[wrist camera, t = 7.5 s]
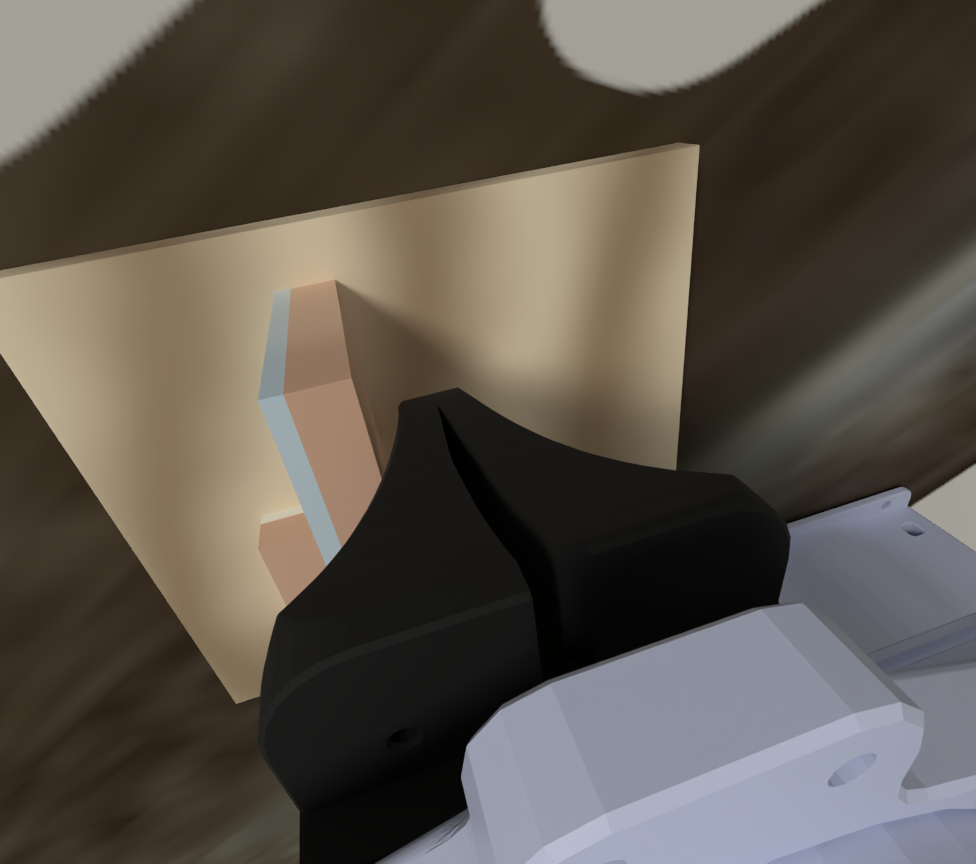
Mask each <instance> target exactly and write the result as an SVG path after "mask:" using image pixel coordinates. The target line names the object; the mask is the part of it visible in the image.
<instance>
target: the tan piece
mask: <svg viewBox="0 0 976 864" xmlns="http://www.w3.org/2000/svg"><path fill="white" fill-rule="evenodd" d="M258 403H259V405H260V407H261V410H262V412H263V415H264V417H265V419H266V422H267V424H268V427H269V429H270V432H271V434H272V436H273V439H274V441H275V444H276V446H277V448H278V451H279V453H280V456H281V458H282V461H283V463H284V465H285V468H286V470H287V473H288V475H289V477H290V480H291V482H292V485H293V487H294V490H295V492H296V494H297V497H298V499H299V502H300V504H301V506H302V509H303V511H304V514H305V516H306V519H307V521H308V523H309V526H310V528H311V531H312V533H313V535H314V538H315V540H316V543H317V545H318V548H319V550H320V552H321V555H322V557H323V560H324V562H325V564H326V566H327V565H328V564H329V563H330V562H331V560H332V559H333V558H334V557H335V555H336V554H337V553H338V552H339V550H340V549H341V548H342V547H343V545H344V544H345V543H346V541H347V540H348V539H349V537H350V536H351V534H352V533H353V531H354V530H355V528H356V527H357V525H358V523H359V522H360V520H361V518H362V517H363V515H364V513H365V512H366V510H367V508H368V507H369V505H370V503H371V501H372V499H373V497H374V495H375V493H376V491H377V489H378V486H379V484H380V482H381V480H382V477H383V474H384V472H385V469H386V461H385V457H384V452H383V448H382V444H381V440H380V436H379V433H378V429H377V426H376V422H375V419H374V415H373V412H372V408H371V405H370V401H369V398H368V394H367V391H366V387H365V384H364V380H363V377H362V373H361V370H360V366H359V363H358V359H357V356H356V352H355V349H354V345H353V342H352V338H351V335H350V331H349V328H348V324H347V321H346V317H345V314H344V310H343V307H342V303H341V300H340V296H339V293H338V289H337V286H336V282H335V280H331V281H326V282H321V283H316V284H312V285H307V286H302V287H297V288H293V289H288V290H283V291H278V292H275V293H274V299H273V306H272V312H271V319H270V325H269V331H268V338H267V344H266V351H265V357H264V364H263V370H262V376H261V383H260V389H259V396H258Z"/></svg>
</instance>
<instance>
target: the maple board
mask: <svg viewBox="0 0 976 864" xmlns="http://www.w3.org/2000/svg"><path fill="white" fill-rule="evenodd" d="M698 159H699V145H694V144H685V143H675V144H670V145H664V146H659V147H654V148H648V149H643V150H638V151H633V152H627V153H622V154H617V155H611V156H606V157H601V158H595V159H590V160H585V161H579V162H574V163H569V164H564V165H558V166H553V167H548V168H542V169H537V170H532V171H526V172H521V173H516V174H510V175H505V176H500V177H494V178H489V179H484V180H479V181H473V182H468V183H463V184H457V185H452V186H447V187H441V188H436V189H431V190H425V191H420V192H415V193H410V194H404V195H399V196H394V197H388V198H383V199H378V200H372V201H367V202H362V203H356V204H351V205H346V206H340V207H335V208H330V209H325V210H319V211H314V212H309V213H303V214H298V215H293V216H287V217H282V218H277V219H271V220H266V221H261V222H256V223H250V224H245V225H240V226H234V227H229V228H224V229H218V230H213V231H208V232H202V233H197V234H192V235H186V236H181V237H176V238H171V239H165V240H160V241H155V242H149V243H144V244H139V245H133V246H128V247H123V248H117V249H112V250H107V251H102V252H96V253H91V254H86V255H80V256H75V257H70V258H64V259H59V260H54V261H48V262H43V263H38V264H32V265H27V266H22V267H17V268H11V269H6V270H1V271H0V353H1V355H2V356H3V358H4V359H5V361H6V362H7V364H8V365H9V367H10V368H11V370H12V371H13V373H14V374H15V376H16V377H17V379H18V380H19V382H20V383H21V385H22V386H23V388H24V389H25V391H26V392H27V393H28V395H29V396H30V398H31V399H32V401H33V402H34V404H35V405H36V407H37V408H38V410H39V411H40V413H41V414H42V416H43V417H44V419H45V420H46V422H47V423H48V425H49V426H50V428H51V429H52V431H53V432H54V434H55V435H56V437H57V438H58V440H59V441H60V443H61V444H62V446H63V447H64V448H65V450H66V451H67V453H68V454H69V456H70V457H71V459H72V460H73V462H74V463H75V465H76V466H77V468H78V469H79V471H80V472H81V474H82V475H83V477H84V478H85V480H86V481H87V483H88V484H89V486H90V487H91V489H92V490H93V492H94V493H95V495H96V496H97V498H98V499H99V501H100V502H101V503H102V505H103V506H104V508H105V509H106V511H107V512H108V514H109V515H110V517H111V518H112V520H113V521H114V523H115V524H116V526H117V527H118V529H119V530H120V532H121V533H122V535H123V536H124V538H125V539H126V541H127V542H128V544H129V545H130V547H131V548H132V550H133V551H134V553H135V554H136V556H137V557H138V558H139V560H140V561H141V563H142V564H143V566H144V567H145V569H146V570H147V572H148V573H149V575H150V576H151V578H152V579H153V581H154V582H155V584H156V585H157V587H158V588H159V590H160V591H161V593H162V594H163V596H164V597H165V599H166V600H167V602H168V603H169V605H170V606H171V608H172V609H173V610H174V612H175V613H176V615H177V616H178V618H179V619H180V621H181V622H182V624H183V625H184V627H185V628H186V630H187V631H188V633H189V634H190V636H191V637H192V639H193V640H194V642H195V643H196V645H197V646H198V648H199V649H200V651H201V652H202V654H203V655H204V657H205V658H206V660H207V661H208V663H209V664H210V665H211V667H212V668H213V670H214V671H215V673H216V674H217V676H218V677H219V679H220V680H221V682H222V683H223V685H224V686H225V688H226V689H227V691H228V692H229V694H230V695H231V697H232V698H233V700H234V701H235V703H236V704H237V703H240V702H243V701H246V700H249V699H252V698H255V697H259V696H260V692H261V682H262V675H263V669H264V664H265V660H266V656H267V651H268V646H269V642H270V639H271V635H272V631H273V627H274V624H275V620H276V617H277V615H278V613H279V612H281V611H282V610H283V609H284V608H285V607H286V604H285V602H284V600H283V598H282V596H281V594H280V592H279V590H278V588H277V586H276V584H275V582H274V580H273V578H272V576H271V574H270V572H269V570H268V568H267V566H266V564H265V562H264V560H263V558H262V556H261V554H260V552H259V550H258V545H259V535H260V526H261V516H264V515H268V514H271V513H275V512H279V511H282V510H286V509H290V508H293V507H297V506H300V505H301V504H300V502H299V499H298V497H297V494H296V492H295V490H294V487H293V485H292V482H291V480H290V477H289V475H288V473H287V470H286V468H285V465H284V463H283V461H282V458H281V456H280V453H279V451H278V448H277V446H276V444H275V441H274V439H273V436H272V434H271V432H270V429H269V427H268V424H267V422H266V419H265V417H264V415H263V412H262V410H261V407H260V405H259V403H258V396H259V389H260V383H261V376H262V370H263V364H264V357H265V351H266V344H267V338H268V331H269V325H270V319H271V312H272V306H273V299H274V293H275V292H278V291H283V290H288V289H293V288H297V287H302V286H307V285H312V284H316V283H321V282H326V281H331V280H335V282H336V286H337V289H338V293H339V296H340V300H341V303H342V307H343V310H344V314H345V317H346V321H347V324H348V328H349V331H350V335H351V338H352V342H353V345H354V349H355V352H356V356H357V359H358V363H359V366H360V370H361V373H362V377H363V380H364V384H365V387H366V391H367V394H368V398H369V401H370V405H371V408H372V412H373V415H374V419H375V422H376V426H377V429H378V433H379V436H380V440H381V444H382V448H383V452H384V457H385V461H386V466H387V463H388V461H389V458H390V455H391V451H392V448H393V444H394V440H395V436H396V431H397V425H398V414H399V412H398V406H399V405H400V403H401V402H402V401H405V400H409V399H413V398H417V397H421V396H425V395H429V394H433V393H437V392H441V391H445V390H449V389H453V388H457V387H458V388H460V389H461V390H463V391H465V392H466V393H468V394H469V395H471V396H472V397H474V398H475V399H477V400H478V401H480V402H481V403H483V404H484V405H486V406H487V407H489V408H491V409H492V410H494V411H495V412H497V413H499V414H500V415H502V416H504V417H506V418H507V419H509V420H511V421H513V422H515V423H517V424H518V425H520V426H522V427H524V428H527V429H529V430H531V431H533V432H535V433H537V434H539V435H541V436H544V437H546V438H548V439H551V440H553V441H556V442H559V443H561V444H564V445H567V446H570V447H572V448H575V449H578V450H581V451H585V452H588V453H591V454H595V455H599V456H603V457H607V458H611V459H615V460H618V461H623V462H628V463H633V464H638V465H644V466H650V467H657V468H663V469H670V470H676V463H677V449H678V435H679V422H680V408H681V394H682V380H683V366H684V353H685V339H686V325H687V311H688V297H689V284H690V270H691V256H692V242H693V228H694V215H695V201H696V187H697V173H698Z"/></svg>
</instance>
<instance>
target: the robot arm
mask: <svg viewBox="0 0 976 864" xmlns="http://www.w3.org/2000/svg"><path fill="white" fill-rule="evenodd" d="M398 412H399V414H398V425H397V431H396V436H395V440H394V444H393V448H392V451H391V455H390V458H389V461H388V463H387V466H386V469H385V472H384V474H383V477H382V480H381V482H380V484H379V486H378V489H377V491H376V493H375V495H374V497H373V499H372V501H371V503H370V505H369V507H368V508H367V510H366V512H365V513H364V515H363V517H362V518H361V520H360V522H359V523H358V525H357V527H356V528H355V530H354V531H353V533H352V534H351V536H350V537H349V539H348V540H347V541H346V543H345V544H344V545H343V547H342V548H341V549H340V550H339V552H338V553H337V554H336V555H335V557H334V558H333V559H332V560H331V562H330V563H329V564H328V565H327V566H326V567H325V568H324V570H323V571H322V572H321V573H320V574H319V575H318V576H317V577H316V578H315V579H314V580H313V581H312V582H311V583H310V584H309V585H308V586H307V587H306V588H305V589H304V590H303V591H302V592H301V593H300V594H299V595H298V596H297V597H296V598H295V599H293V600H292V601H291V602H290V603H289V604H288V605H287V606H286V607H285V608H284V609H283V610H282V611H281V612H279V613H278V615H277V617H276V620H275V624H274V627H273V631H272V635H271V639H270V642H269V646H268V651H267V656H266V660H265V664H264V669H263V675H262V682H261V692H260V708H259V725H258V745H259V747H260V750H261V752H262V755H263V758H264V760H265V761H266V763H267V764H268V766H269V767H270V769H271V770H272V772H273V773H274V775H275V776H276V777H277V779H278V780H279V782H280V783H281V785H282V786H283V788H284V789H285V791H286V792H287V793H288V795H289V796H290V798H291V799H292V801H293V802H294V804H295V805H296V807H297V808H298V810H299V811H300V864H976V552H975V551H974V550H972V549H971V548H969V547H968V546H967V545H965V544H963V543H962V542H960V541H959V540H958V539H956V538H955V537H953V536H952V535H950V534H949V533H947V532H945V531H944V530H943V529H941V528H940V527H938V526H936V525H935V524H934V523H932V522H931V521H929V520H928V519H926V518H925V517H923V516H922V515H920V514H919V513H917V512H916V511H914V510H913V509H911V508H910V507H908V506H907V505H908V503H909V500H910V497H911V492H910V491H909V490H908V489H906V488H904V487H898V488H895V489H892V490H889V491H886V492H883V493H880V494H877V495H874V496H871V497H868V498H865V499H862V500H859V501H856V502H852V503H849V504H846V505H843V506H840V507H837V508H834V509H831V510H828V511H825V512H822V513H819V514H816V515H813V516H810V517H807V518H804V519H801V520H798V521H794V522H791V523H788V524H787V523H786V522H785V521H784V520H783V518H782V517H781V516H780V515H779V514H778V513H777V512H776V511H775V510H774V509H773V508H772V507H770V506H769V505H768V504H767V503H766V502H765V501H764V500H762V499H761V498H760V497H759V496H758V495H757V494H756V493H755V492H753V491H752V490H751V489H750V488H749V487H747V486H746V485H745V484H744V483H743V482H741V481H740V480H739V479H737V478H736V477H735V476H733V475H729V474H716V473H703V472H690V471H678V470H670V469H663V468H657V467H650V466H644V465H638V464H633V463H628V462H623V461H618V460H615V459H611V458H607V457H603V456H599V455H595V454H591V453H588V452H585V451H581V450H578V449H575V448H572V447H570V446H567V445H564V444H561V443H559V442H556V441H553V440H551V439H548V438H546V437H544V436H541V435H539V434H537V433H535V432H533V431H531V430H529V429H527V428H524V427H522V426H520V425H518V424H517V423H515V422H513V421H511V420H509V419H507V418H506V417H504V416H502V415H500V414H499V413H497V412H495V411H494V410H492V409H491V408H489V407H487V406H486V405H484V404H483V403H481V402H480V401H478V400H477V399H475V398H474V397H472V396H471V395H469V394H468V393H466V392H465V391H463V390H461V389H460V388H458V387H457V388H453V389H449V390H445V391H441V392H437V393H433V394H429V395H425V396H421V397H417V398H413V399H409V400H405V401H402V402H401V403H400V405H399V406H398Z"/></svg>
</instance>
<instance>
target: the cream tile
mask: <svg viewBox="0 0 976 864" xmlns="http://www.w3.org/2000/svg"><path fill="white" fill-rule="evenodd" d="M258 550H259V552H260V554H261V556H262V558H263V560H264V562H265V564H266V566H267V568H268V570H269V572H270V574H271V576H272V578H273V580H274V582H275V584H276V586H277V588H278V590H279V592H280V594H281V596H282V598H283V600H284V602H285V604H286V606H287V605H288V604H289V603H290V602H291V601H292V600H293V599H295V598H296V597H297V596H298V595H299V594H300V593H301V592H302V591H303V590H304V589H305V588H306V587H307V586H308V585H309V584H310V583H311V582H312V581H313V580H314V579H315V578H316V577H317V576H318V575H319V574H320V573H321V572H322V571H323V570H324V568H325V567H326V564H325V562H324V560H323V557H322V555H321V552H320V550H319V548H318V545H317V543H316V540H315V538H314V535H313V533H312V531H311V528H310V526H309V523H308V521H307V519H306V516H305V514H304V511H303V509H302V506H301V505H300V506H297V507H293V508H290V509H286V510H282V511H279V512H275V513H271V514H268V515H264V516H261V526H260V535H259V545H258Z"/></svg>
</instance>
